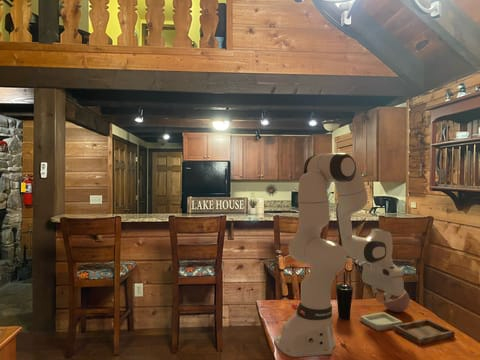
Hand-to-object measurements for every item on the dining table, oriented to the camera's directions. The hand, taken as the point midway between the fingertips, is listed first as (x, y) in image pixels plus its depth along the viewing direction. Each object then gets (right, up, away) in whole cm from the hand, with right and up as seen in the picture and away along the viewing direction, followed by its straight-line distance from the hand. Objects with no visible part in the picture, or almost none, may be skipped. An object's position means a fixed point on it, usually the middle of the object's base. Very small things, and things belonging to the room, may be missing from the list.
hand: (381, 299), depth 135 cm
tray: (0, -10, 0) cm, 10 cm away
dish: (+13, -10, -9) cm, 19 cm away
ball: (0, +1, 0) cm, 1 cm away
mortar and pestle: (+12, -11, +13) cm, 21 cm away
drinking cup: (-14, -10, +5) cm, 18 cm away
